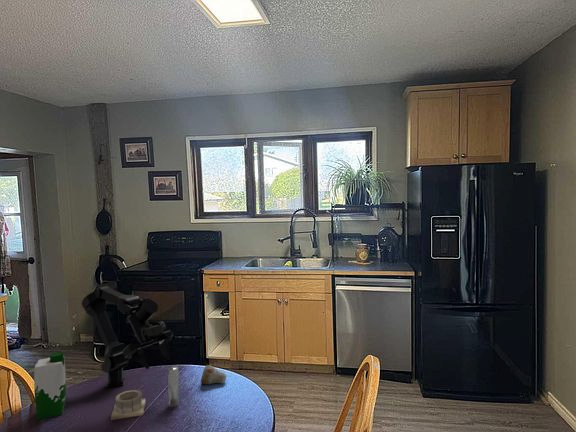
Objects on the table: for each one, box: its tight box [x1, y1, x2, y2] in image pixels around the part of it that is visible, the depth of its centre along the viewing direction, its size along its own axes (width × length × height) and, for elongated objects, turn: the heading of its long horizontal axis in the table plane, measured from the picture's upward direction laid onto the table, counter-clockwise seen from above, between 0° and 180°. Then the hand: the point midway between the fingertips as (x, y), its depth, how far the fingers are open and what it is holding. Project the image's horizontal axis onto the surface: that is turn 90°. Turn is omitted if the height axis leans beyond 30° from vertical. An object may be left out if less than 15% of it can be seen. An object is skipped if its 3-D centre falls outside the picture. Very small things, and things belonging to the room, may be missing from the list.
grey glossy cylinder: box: [167, 365, 180, 408], centre depth 136 cm, size 4×4×13 cm
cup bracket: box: [110, 389, 146, 421], centre depth 133 cm, size 10×10×5 cm
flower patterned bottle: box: [200, 364, 227, 385], centre depth 152 cm, size 8×10×10 cm
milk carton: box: [33, 351, 67, 420], centre depth 132 cm, size 9×9×20 cm
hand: (158, 363), depth 139 cm, fingers open, 9 cm apart
